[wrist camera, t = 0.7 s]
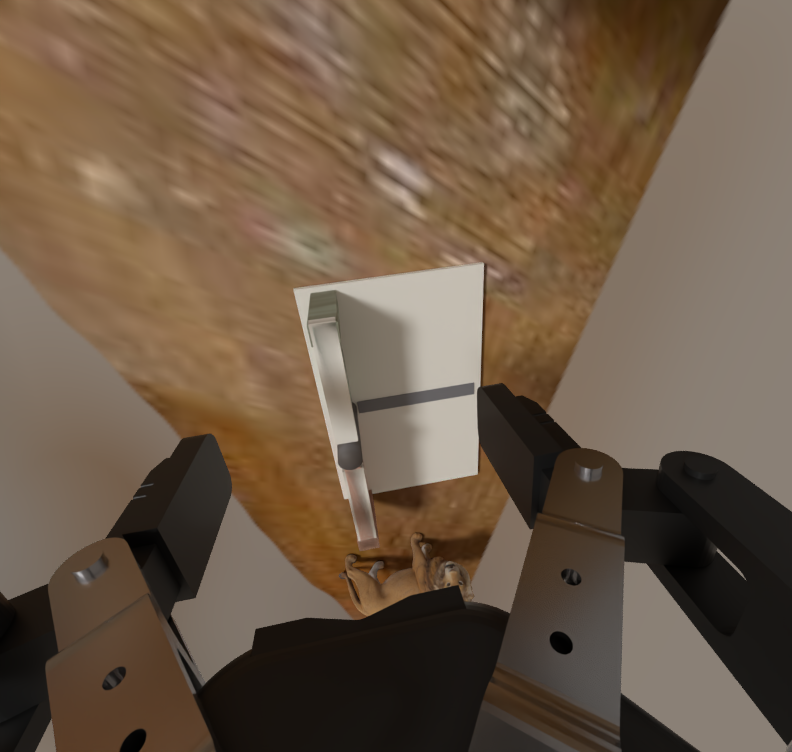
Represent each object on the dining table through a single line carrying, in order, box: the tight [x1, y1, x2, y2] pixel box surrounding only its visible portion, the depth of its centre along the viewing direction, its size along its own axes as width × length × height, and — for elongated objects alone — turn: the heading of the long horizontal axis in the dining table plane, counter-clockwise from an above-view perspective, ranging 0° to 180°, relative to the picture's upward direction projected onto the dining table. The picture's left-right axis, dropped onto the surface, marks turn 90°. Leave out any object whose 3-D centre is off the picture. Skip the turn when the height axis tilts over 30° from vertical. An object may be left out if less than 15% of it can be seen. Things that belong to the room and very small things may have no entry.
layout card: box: [294, 262, 484, 499], centre depth 33 cm, size 22×14×1 cm, turn 5°
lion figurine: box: [339, 533, 474, 616], centre depth 41 cm, size 15×5×9 cm, turn 114°
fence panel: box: [342, 462, 380, 551], centre depth 34 cm, size 10×2×6 cm, turn 5°
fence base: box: [307, 290, 363, 470], centre depth 28 cm, size 12×2×6 cm, turn 5°
